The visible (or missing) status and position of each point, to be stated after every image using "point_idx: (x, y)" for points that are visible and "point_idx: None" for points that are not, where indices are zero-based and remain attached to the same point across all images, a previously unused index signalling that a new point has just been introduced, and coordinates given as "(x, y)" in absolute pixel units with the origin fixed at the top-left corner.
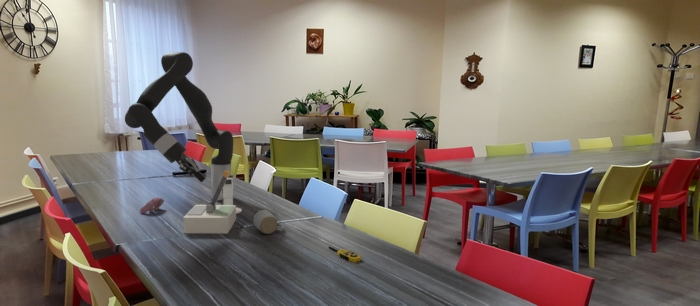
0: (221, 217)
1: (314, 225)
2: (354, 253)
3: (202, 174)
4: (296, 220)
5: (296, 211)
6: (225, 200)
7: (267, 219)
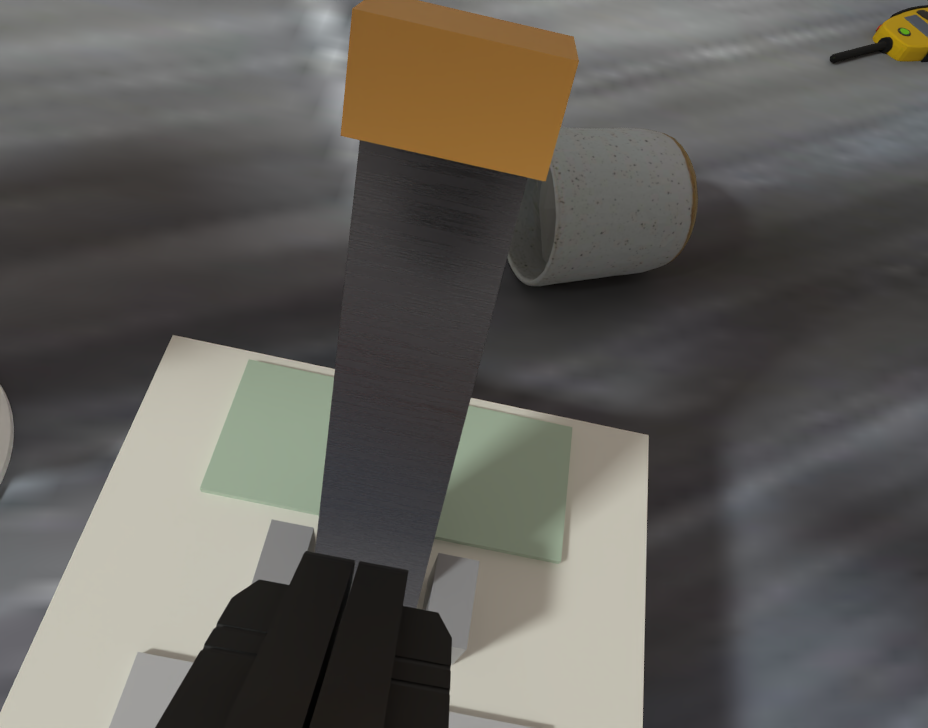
0: (638, 493)
1: None
2: (923, 10)
3: (292, 622)
4: None
5: (142, 20)
6: None
7: (694, 174)
